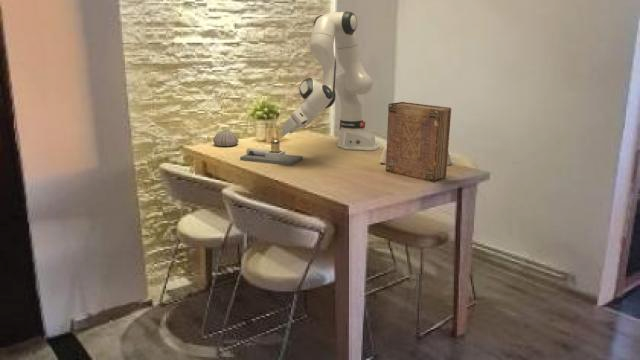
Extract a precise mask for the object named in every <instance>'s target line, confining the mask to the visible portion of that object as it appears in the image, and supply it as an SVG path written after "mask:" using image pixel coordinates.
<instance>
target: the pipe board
mask: <svg viewBox="0 0 640 360" xmlns="http://www.w3.org/2000/svg"><path fill="white" fill-rule="evenodd" d="M303 156H304V155H295V154H286V150H280V153H271V149H263V148H262V149H261V148H253V147H247V148H246V154H244V155H241V156H240V157H239V158H240V159H239V160H240V161H244V162H245V161H246V162H256V163H264V164H273V165H282V166H292V165H294V164H296V163H298V162H300V161H302V160H303Z"/></svg>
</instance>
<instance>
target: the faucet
mask: <svg viewBox="0 0 640 360" xmlns="http://www.w3.org/2000/svg"><path fill="white" fill-rule="evenodd" d="M386 154H387V145H386V146H384V147H383V149H382V152H381V155H380V157H379V163H381V164H385V165H386Z"/></svg>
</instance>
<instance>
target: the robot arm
mask: <svg viewBox="0 0 640 360" xmlns="http://www.w3.org/2000/svg"><path fill="white" fill-rule="evenodd" d="M312 26H313V28H312V30H311V34H310V35H311V36H310V39H309V51H310V53H311V54H312V56H313V57H314V58H315V59H316V60H317V62H318V63H319V65H320V66H321V68H322V71H323V76H322V78H323V79H322V83H321V82H319V80H316V79H314V78H312V77H308V78H305V79H304V80H303V81H301V83H300V85H299V88H298V90H299V91H298V92H299V94H300V96H301V97H302V99H303V100H304V101H303V102H302V103H301V104H300V105H299V106H298V107H297V108H296V109H295V110H294V111H292V112H291V113H290V116H289V117H288V118H287V120H285V122H284V123H283V125H282V126H281V132H280V134H279V137H281V138H283V137H285V136H286V134H293V133H294V132H295V131H297V130H298V129H300V128H303V127H305V126H306V125H310V124H311V123H313V121H314V120H315V119H316V118H317V117H318V115H319V114H320V113H321V112H323V111H324V110H325V109H328V108H330V107H332V106H333V105H334V104H335V101H336V98H337V97H336V92H337V94H338V99H339V102H340V120H339V136H338V137H339V138H338V142H337V144H336V145H337V147H339V148H340V149H343V150H351V151H352V150H355V151H369V152H370V151H376V150H378V149H379V148H380V144H378V143H376V137H375V135H374V134H373V132H371V131H370V130H369V129H367V128H366V123H367V122H366V121H364V120H363V105H362V103H361V102H360V100H359V98H358V96H361V95H367V94H369V93H370V92H371V91H372V89H373V87H374V86H373V79H372V77H371V76H370V75H369V74H368V73H367V71H366V70H365V68H364V66H363V63H362V61H361V58H360V51H359V47H358V40H357V39H358V38H357V35H356V33H355V32H356V30H357V27H358V19H357V16H356V15H355V13H354V12H353V11H336V12H335V11H334V12H330V13H327V14H326V13H325V14H320V15H317V16H316V18H315V19H314V20H313V25H312ZM334 43H335V50H336V57H337V59H336V57H335V52H334V51H335V50H334ZM337 62H338V64H339V66H341V68H342V69H343V71H341V72H337ZM336 72H337V73H336Z"/></svg>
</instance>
